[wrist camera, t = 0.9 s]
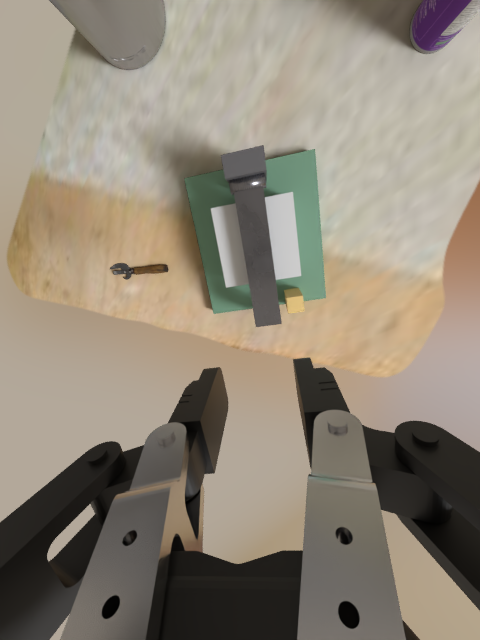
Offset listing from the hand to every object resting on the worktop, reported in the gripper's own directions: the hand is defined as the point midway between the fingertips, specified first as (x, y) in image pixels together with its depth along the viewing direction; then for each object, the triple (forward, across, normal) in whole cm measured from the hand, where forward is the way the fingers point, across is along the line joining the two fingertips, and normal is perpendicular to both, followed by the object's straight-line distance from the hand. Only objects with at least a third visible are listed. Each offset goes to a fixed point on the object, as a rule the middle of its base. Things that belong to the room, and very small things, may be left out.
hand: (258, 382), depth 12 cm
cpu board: (+27, 0, -5) cm, 28 cm away
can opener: (+28, +18, -4) cm, 33 cm away
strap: (+25, 0, -4) cm, 25 cm away
